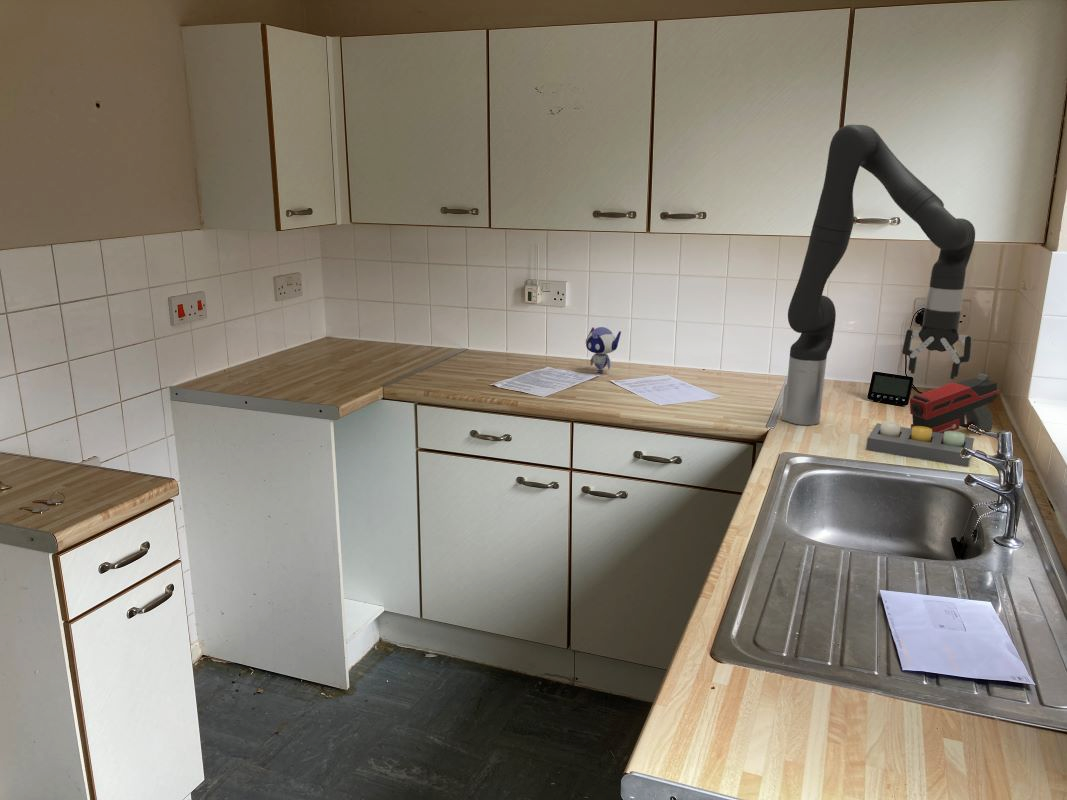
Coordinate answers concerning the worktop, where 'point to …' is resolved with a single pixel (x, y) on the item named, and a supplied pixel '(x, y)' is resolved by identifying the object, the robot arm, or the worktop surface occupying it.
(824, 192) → the robot arm
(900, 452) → the panel
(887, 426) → the button ivory
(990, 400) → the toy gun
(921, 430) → the button amber
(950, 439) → the button sage
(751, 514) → the worktop surface
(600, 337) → the toy
